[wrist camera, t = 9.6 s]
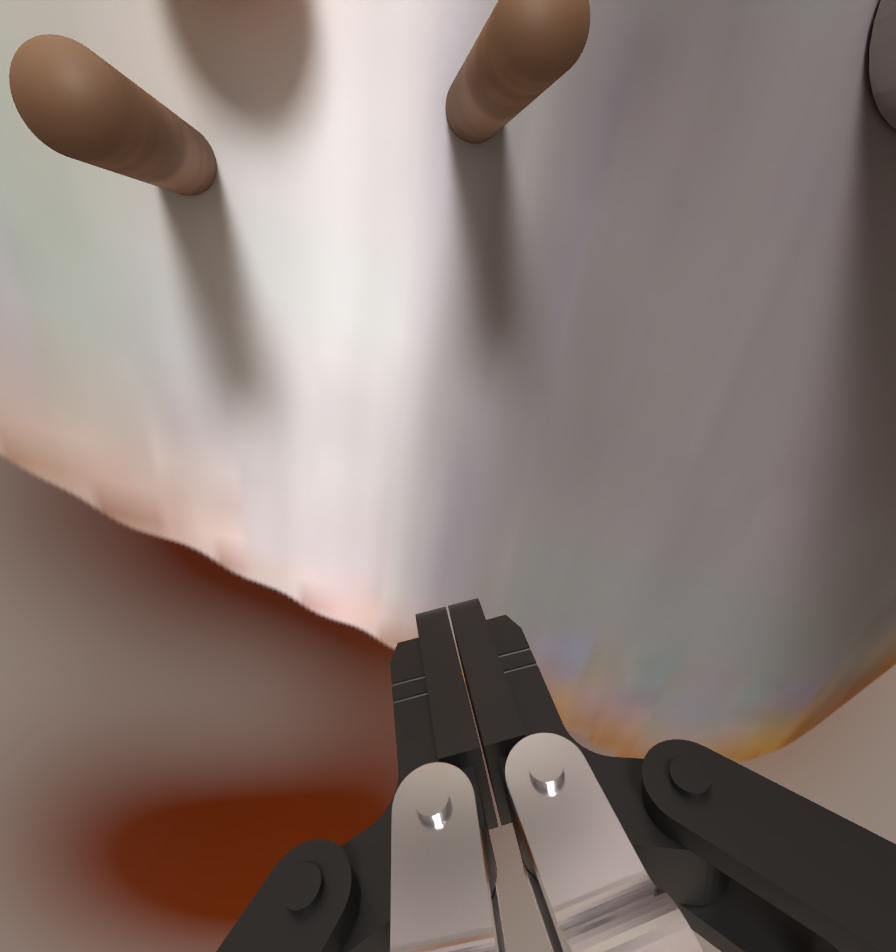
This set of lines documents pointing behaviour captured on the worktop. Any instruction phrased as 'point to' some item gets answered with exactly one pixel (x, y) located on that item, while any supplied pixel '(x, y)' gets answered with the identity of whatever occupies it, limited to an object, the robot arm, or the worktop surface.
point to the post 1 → (105, 117)
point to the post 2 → (515, 63)
